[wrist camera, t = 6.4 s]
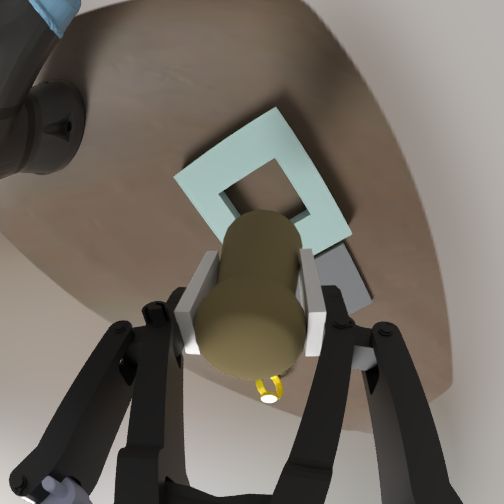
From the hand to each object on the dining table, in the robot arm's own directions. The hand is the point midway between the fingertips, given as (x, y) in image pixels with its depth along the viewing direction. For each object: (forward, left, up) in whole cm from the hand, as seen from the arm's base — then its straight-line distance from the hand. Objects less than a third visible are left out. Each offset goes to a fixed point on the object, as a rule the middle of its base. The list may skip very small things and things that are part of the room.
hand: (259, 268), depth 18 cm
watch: (+26, -16, -17) cm, 35 cm away
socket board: (-1, 0, -17) cm, 17 cm away
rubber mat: (+15, 0, -17) cm, 22 cm away
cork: (0, 0, -3) cm, 3 cm away
